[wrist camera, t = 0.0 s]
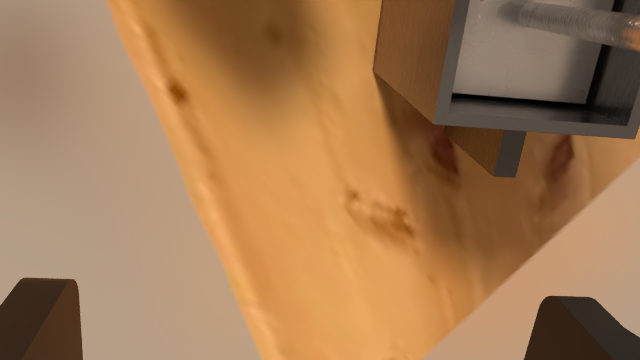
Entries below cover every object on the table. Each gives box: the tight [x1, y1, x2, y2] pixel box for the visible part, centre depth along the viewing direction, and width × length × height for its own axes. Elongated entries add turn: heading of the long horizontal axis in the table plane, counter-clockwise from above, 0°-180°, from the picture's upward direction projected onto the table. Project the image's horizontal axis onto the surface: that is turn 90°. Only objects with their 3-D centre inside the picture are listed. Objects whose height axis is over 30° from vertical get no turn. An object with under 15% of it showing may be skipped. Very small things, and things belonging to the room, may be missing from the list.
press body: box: [373, 0, 640, 178], centre depth 30 cm, size 13×10×14 cm
